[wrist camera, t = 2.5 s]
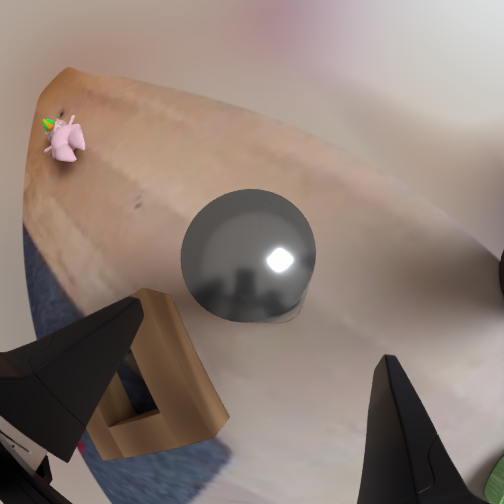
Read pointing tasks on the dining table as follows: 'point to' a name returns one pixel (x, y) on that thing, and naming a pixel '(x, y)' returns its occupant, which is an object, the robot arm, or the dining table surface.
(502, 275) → the bottle
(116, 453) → the walnut square frame
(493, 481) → the ramekin
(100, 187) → the dining table surface
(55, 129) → the rabbit figure
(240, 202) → the steel rod
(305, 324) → the dining table surface
